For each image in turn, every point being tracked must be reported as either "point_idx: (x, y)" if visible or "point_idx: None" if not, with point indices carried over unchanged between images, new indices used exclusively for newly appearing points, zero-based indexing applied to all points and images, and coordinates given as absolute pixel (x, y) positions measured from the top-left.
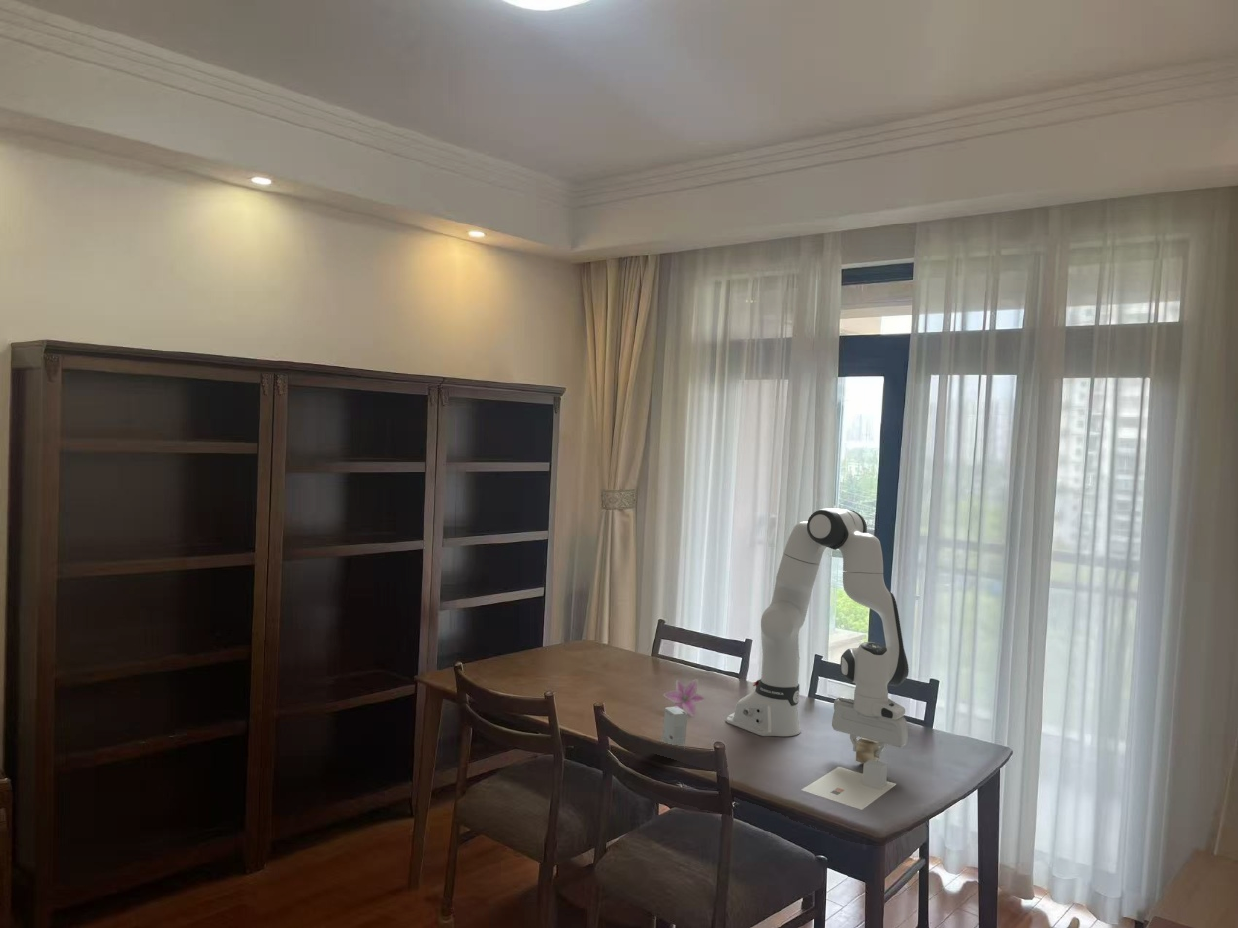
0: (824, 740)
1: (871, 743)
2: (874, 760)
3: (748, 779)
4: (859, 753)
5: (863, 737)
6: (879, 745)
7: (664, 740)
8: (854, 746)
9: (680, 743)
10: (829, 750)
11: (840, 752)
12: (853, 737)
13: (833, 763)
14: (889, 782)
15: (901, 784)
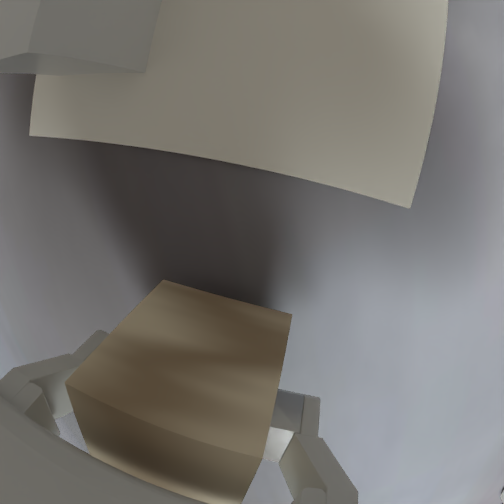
0: (445, 483)
1: (101, 422)
2: (5, 51)
3: None
4: (249, 349)
5: (162, 491)
6: (38, 389)
7: None
8: (307, 425)
9: None
10: (447, 427)
11: (396, 434)
12: (315, 501)
13: (447, 264)
14: (53, 126)
15: (22, 157)
